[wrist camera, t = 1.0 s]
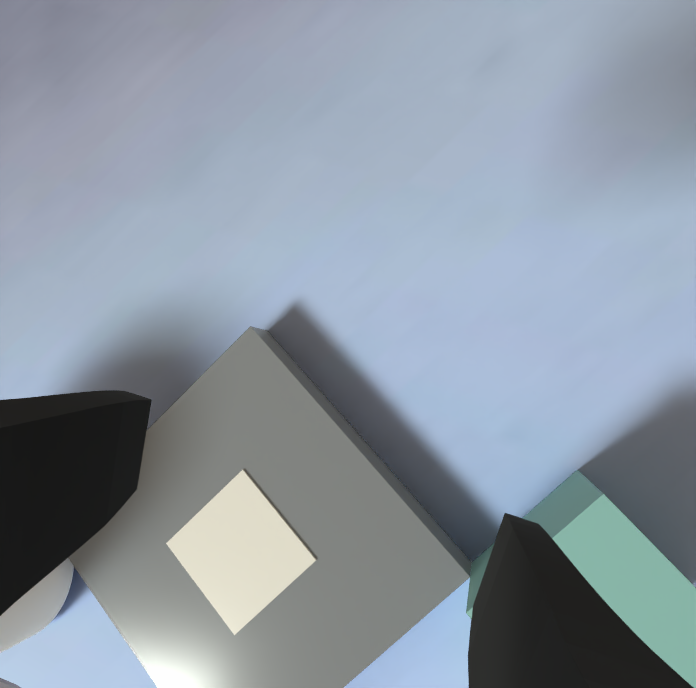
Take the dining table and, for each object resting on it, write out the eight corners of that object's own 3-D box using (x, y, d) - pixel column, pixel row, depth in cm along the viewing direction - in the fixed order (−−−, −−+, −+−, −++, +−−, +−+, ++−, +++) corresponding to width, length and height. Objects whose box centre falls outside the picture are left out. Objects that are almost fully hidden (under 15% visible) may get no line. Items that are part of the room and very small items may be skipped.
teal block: (689, 584, 23) (755, 649, 17) (575, 679, 24) (602, 771, 18) (577, 469, 25) (603, 493, 19) (471, 562, 25) (466, 613, 19)
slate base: (471, 562, 25) (469, 577, 23) (246, 759, 27) (226, 789, 25) (267, 330, 28) (249, 326, 26) (76, 520, 30) (46, 529, 28)
